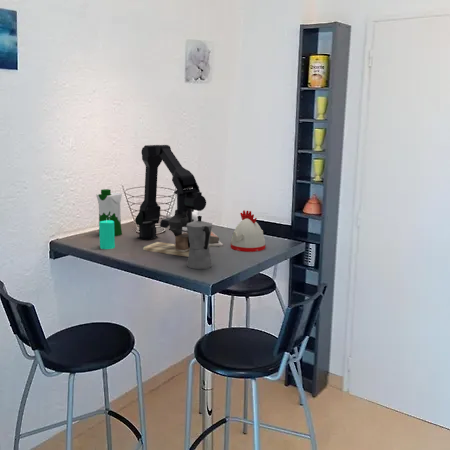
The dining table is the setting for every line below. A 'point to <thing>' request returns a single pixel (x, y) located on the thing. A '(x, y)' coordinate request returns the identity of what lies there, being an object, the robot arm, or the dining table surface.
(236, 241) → the kitchen timer
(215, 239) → the packaged product
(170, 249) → the board
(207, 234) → the coffeepot
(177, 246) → the block
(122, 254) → the dining table surface
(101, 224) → the candle
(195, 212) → the white knot sculpture
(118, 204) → the milk carton
